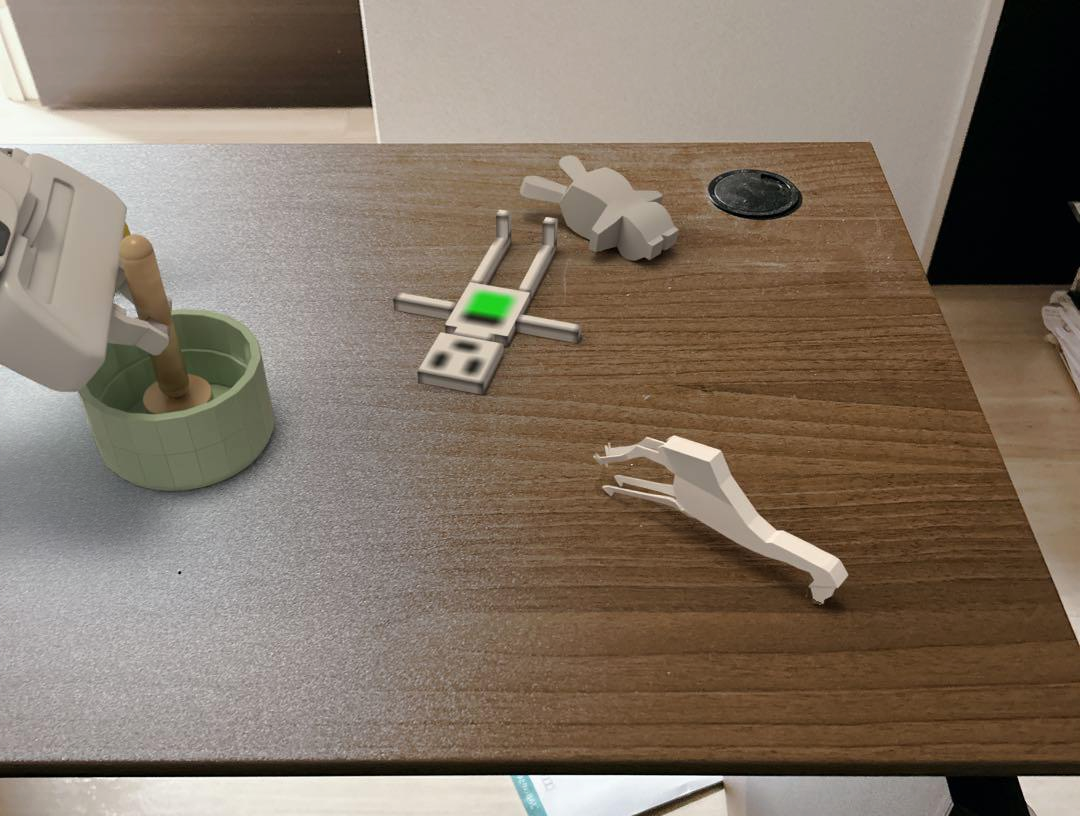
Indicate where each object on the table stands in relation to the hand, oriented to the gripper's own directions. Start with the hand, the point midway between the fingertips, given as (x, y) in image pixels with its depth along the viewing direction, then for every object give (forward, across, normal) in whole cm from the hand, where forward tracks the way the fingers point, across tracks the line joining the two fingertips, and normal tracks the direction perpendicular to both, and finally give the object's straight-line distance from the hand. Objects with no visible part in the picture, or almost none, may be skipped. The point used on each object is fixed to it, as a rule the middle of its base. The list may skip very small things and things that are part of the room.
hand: (166, 328), depth 79 cm
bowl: (+7, 0, -7) cm, 10 cm away
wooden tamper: (+6, 0, -6) cm, 8 cm away
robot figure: (+24, -12, +10) cm, 29 cm away
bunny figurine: (+33, -24, +19) cm, 45 cm away
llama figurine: (+32, +18, +18) cm, 41 cm away
